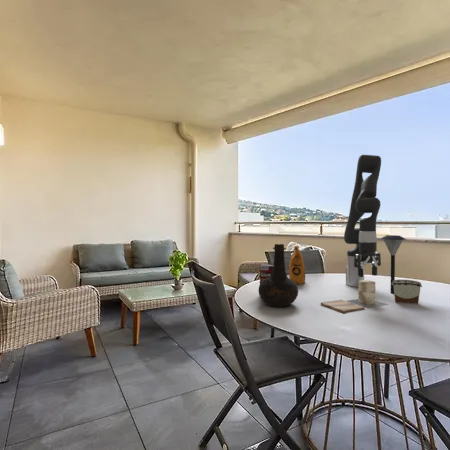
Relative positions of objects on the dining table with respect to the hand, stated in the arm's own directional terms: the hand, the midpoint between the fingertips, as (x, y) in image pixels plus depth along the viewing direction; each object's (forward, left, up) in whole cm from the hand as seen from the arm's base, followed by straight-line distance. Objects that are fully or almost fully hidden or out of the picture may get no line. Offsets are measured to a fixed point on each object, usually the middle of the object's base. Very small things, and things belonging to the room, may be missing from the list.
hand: (367, 276), depth 149 cm
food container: (+6, +18, -13) cm, 23 cm away
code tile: (0, 0, -13) cm, 13 cm away
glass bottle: (-16, -38, -13) cm, 43 cm away
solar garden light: (-8, +27, -13) cm, 31 cm away
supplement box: (-31, -34, -13) cm, 48 cm away
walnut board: (0, -15, -13) cm, 20 cm away
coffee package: (-52, -1, -13) cm, 54 cm away
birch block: (0, 0, -13) cm, 13 cm away
